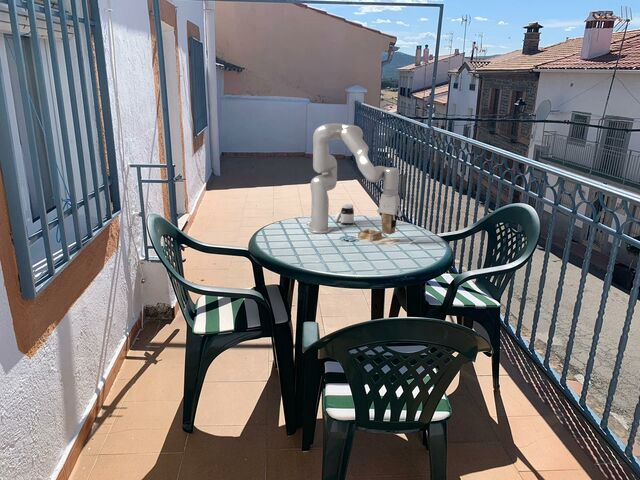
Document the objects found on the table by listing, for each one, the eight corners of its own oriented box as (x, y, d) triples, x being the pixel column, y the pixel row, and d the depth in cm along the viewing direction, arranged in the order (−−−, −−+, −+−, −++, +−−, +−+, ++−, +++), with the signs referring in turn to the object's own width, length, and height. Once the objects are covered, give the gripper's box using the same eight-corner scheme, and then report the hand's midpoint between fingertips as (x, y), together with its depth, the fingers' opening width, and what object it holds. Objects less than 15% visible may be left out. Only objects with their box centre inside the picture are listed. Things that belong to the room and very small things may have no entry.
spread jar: (354, 226, 299) (355, 206, 296) (335, 225, 299) (335, 206, 296) (352, 221, 311) (352, 202, 308) (333, 221, 310) (334, 202, 307)
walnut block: (381, 232, 264) (382, 214, 261) (386, 231, 268) (387, 212, 265) (390, 234, 261) (391, 215, 258) (394, 232, 265) (396, 214, 262)
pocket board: (353, 239, 270) (354, 232, 269) (368, 234, 281) (368, 227, 280) (389, 247, 257) (390, 240, 256) (403, 242, 268) (403, 235, 267)
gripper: (372, 190, 261) (371, 225, 266) (401, 195, 251) (399, 230, 256) (380, 189, 266) (378, 222, 271) (408, 193, 256) (406, 227, 261)
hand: (388, 226), depth 263 cm, fingers closed on walnut block, 5 cm apart
